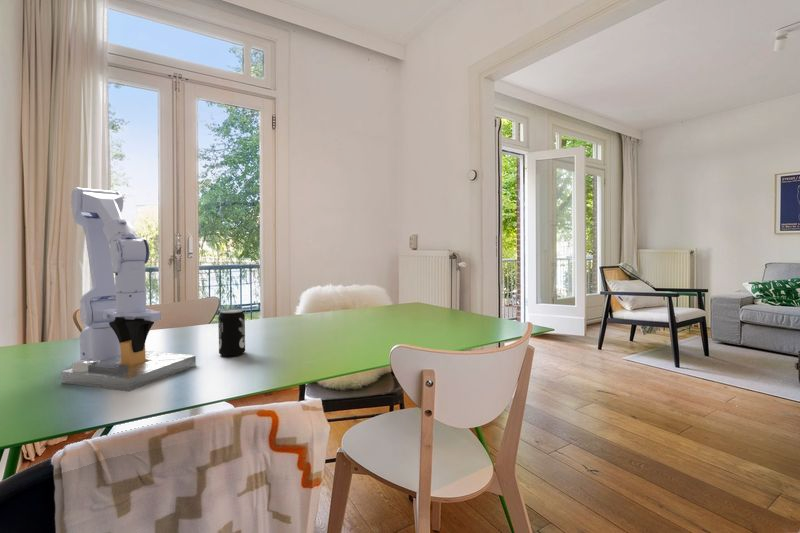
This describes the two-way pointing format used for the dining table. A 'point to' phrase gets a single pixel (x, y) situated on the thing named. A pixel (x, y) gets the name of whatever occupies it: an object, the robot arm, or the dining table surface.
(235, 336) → the beverage can
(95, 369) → the gray slotted plate
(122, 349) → the orange rectangular block
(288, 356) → the dining table surface
